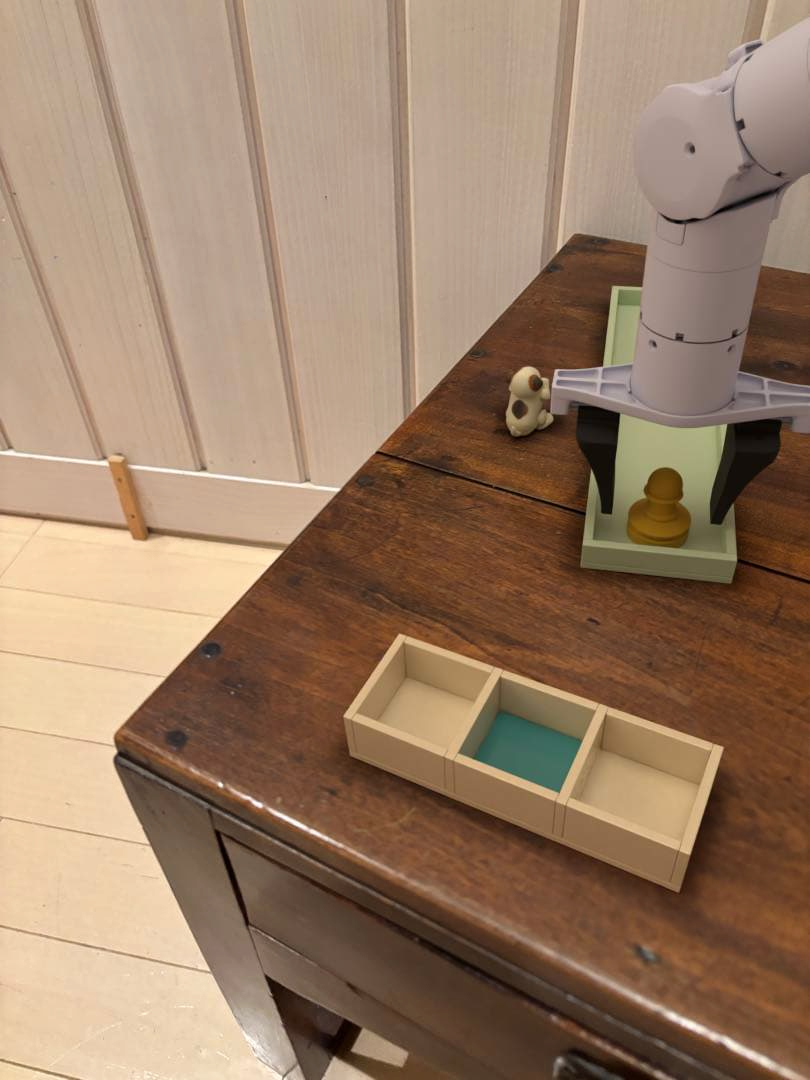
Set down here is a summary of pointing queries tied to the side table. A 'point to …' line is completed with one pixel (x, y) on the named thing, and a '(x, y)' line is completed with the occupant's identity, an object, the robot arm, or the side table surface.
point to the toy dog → (527, 401)
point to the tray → (636, 459)
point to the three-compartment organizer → (537, 757)
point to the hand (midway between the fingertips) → (660, 509)
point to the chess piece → (660, 512)
